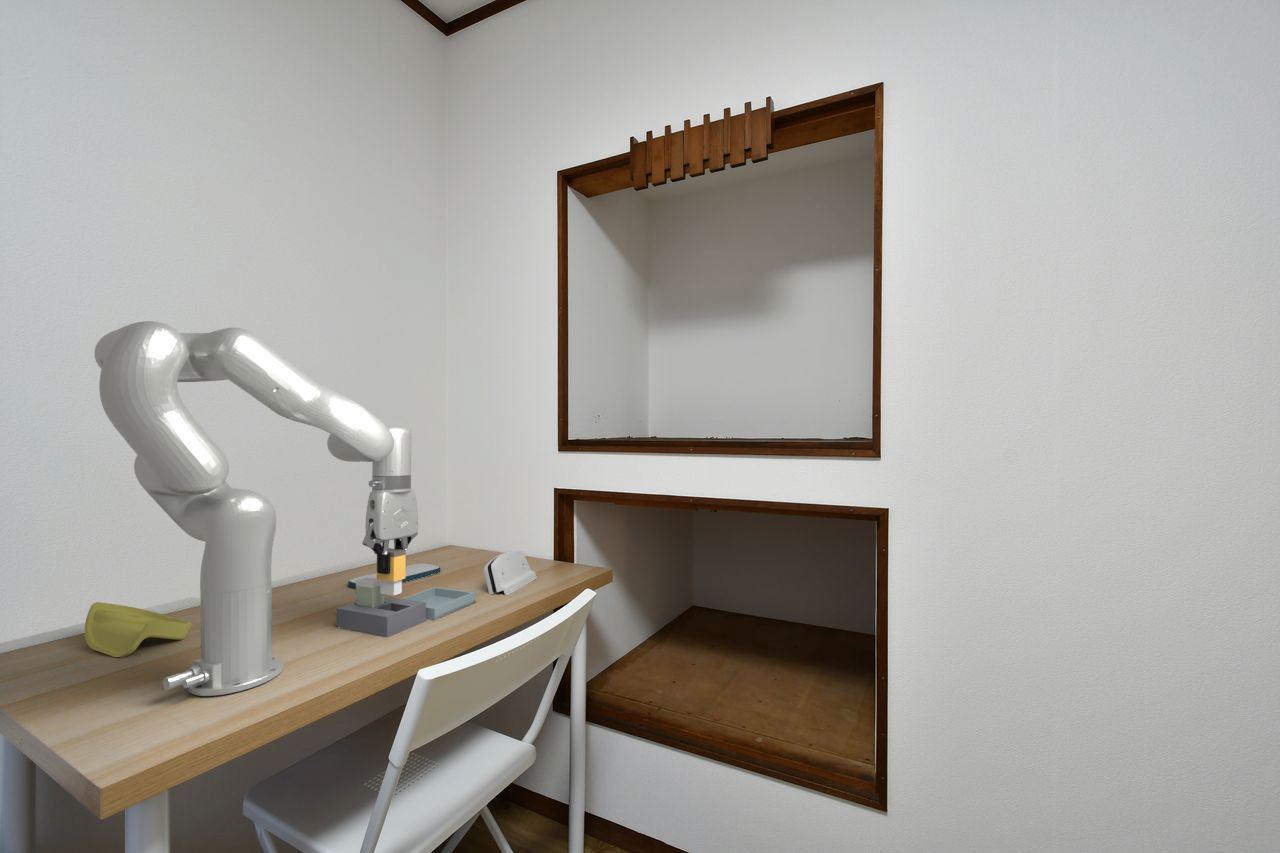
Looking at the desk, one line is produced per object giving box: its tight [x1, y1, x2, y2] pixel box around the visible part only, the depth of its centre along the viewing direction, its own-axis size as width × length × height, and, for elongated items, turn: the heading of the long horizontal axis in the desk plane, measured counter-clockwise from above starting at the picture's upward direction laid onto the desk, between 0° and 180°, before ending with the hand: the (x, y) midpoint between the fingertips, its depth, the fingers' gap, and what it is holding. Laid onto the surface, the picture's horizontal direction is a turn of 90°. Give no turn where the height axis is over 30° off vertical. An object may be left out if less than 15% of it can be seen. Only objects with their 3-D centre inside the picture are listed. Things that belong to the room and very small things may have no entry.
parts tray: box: [401, 586, 477, 621], centre depth 125 cm, size 13×13×2 cm
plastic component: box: [84, 601, 193, 658], centre depth 107 cm, size 20×7×10 cm
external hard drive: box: [347, 562, 441, 590], centre depth 152 cm, size 24×12×2 cm, turn 146°
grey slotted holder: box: [483, 550, 538, 596], centre depth 143 cm, size 17×5×10 cm, turn 163°
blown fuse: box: [376, 547, 407, 596], centre depth 113 cm, size 3×5×9 cm, turn 66°
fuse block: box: [335, 578, 427, 638], centre depth 115 cm, size 10×15×9 cm, turn 66°
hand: (391, 570), depth 113 cm, fingers closed on blown fuse, 3 cm apart
